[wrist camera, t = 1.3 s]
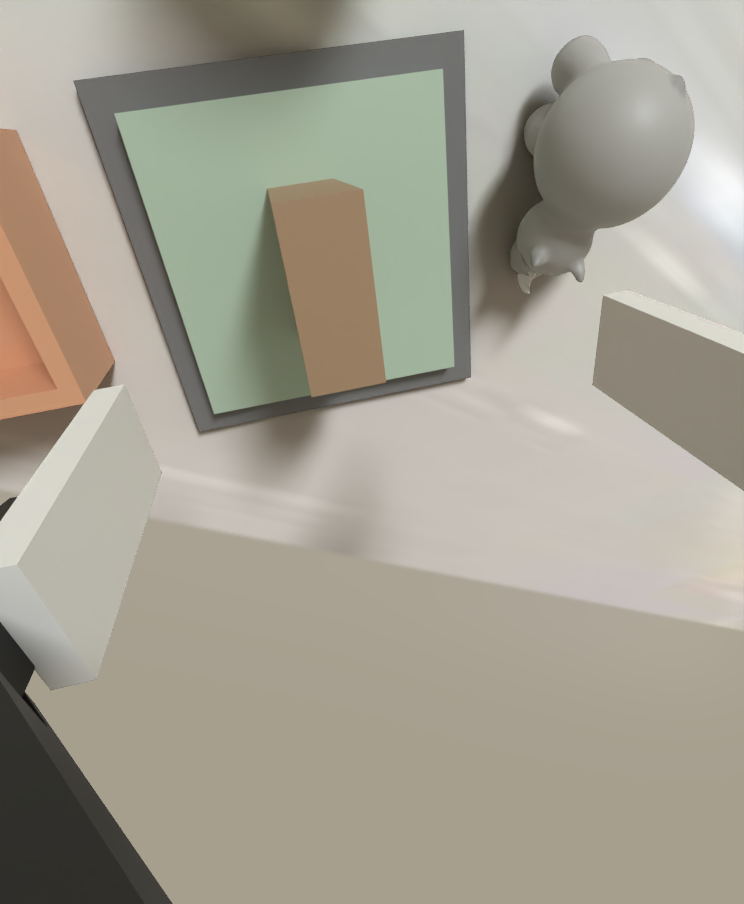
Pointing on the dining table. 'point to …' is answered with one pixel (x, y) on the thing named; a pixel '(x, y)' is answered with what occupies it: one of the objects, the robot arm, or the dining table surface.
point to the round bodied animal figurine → (599, 154)
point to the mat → (265, 77)
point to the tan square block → (40, 301)
